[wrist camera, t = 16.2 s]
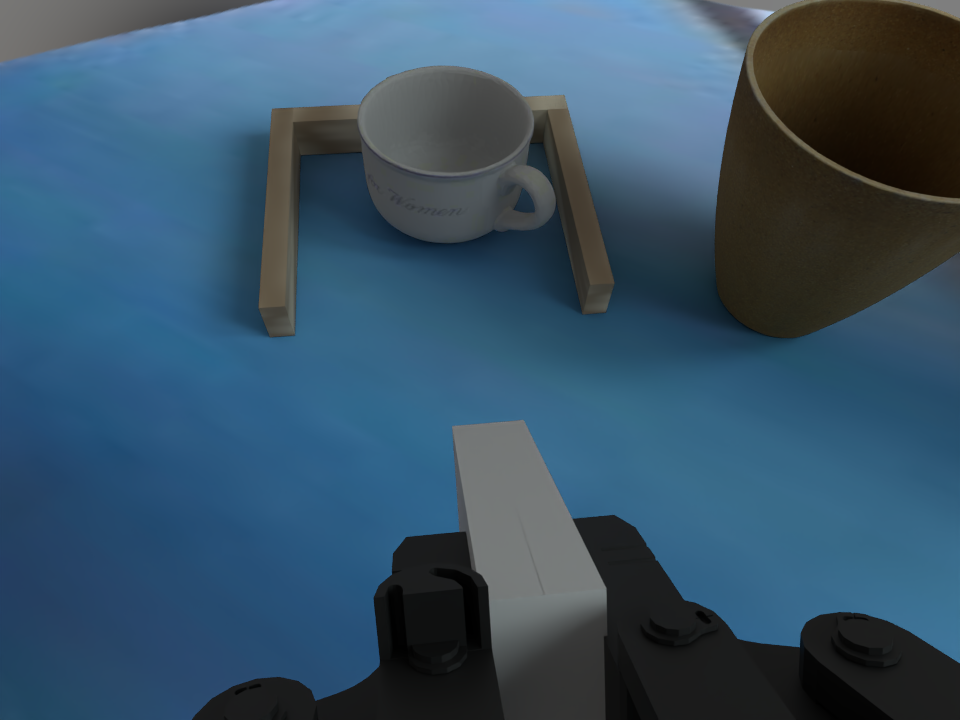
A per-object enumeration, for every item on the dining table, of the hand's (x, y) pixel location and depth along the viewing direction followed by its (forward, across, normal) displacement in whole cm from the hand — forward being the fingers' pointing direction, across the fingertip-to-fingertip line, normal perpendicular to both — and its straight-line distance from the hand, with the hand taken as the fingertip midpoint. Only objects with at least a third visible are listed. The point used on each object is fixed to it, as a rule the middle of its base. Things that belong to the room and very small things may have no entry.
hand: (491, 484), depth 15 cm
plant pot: (+31, +22, -2) cm, 38 cm away
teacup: (+36, +2, +4) cm, 37 cm away
